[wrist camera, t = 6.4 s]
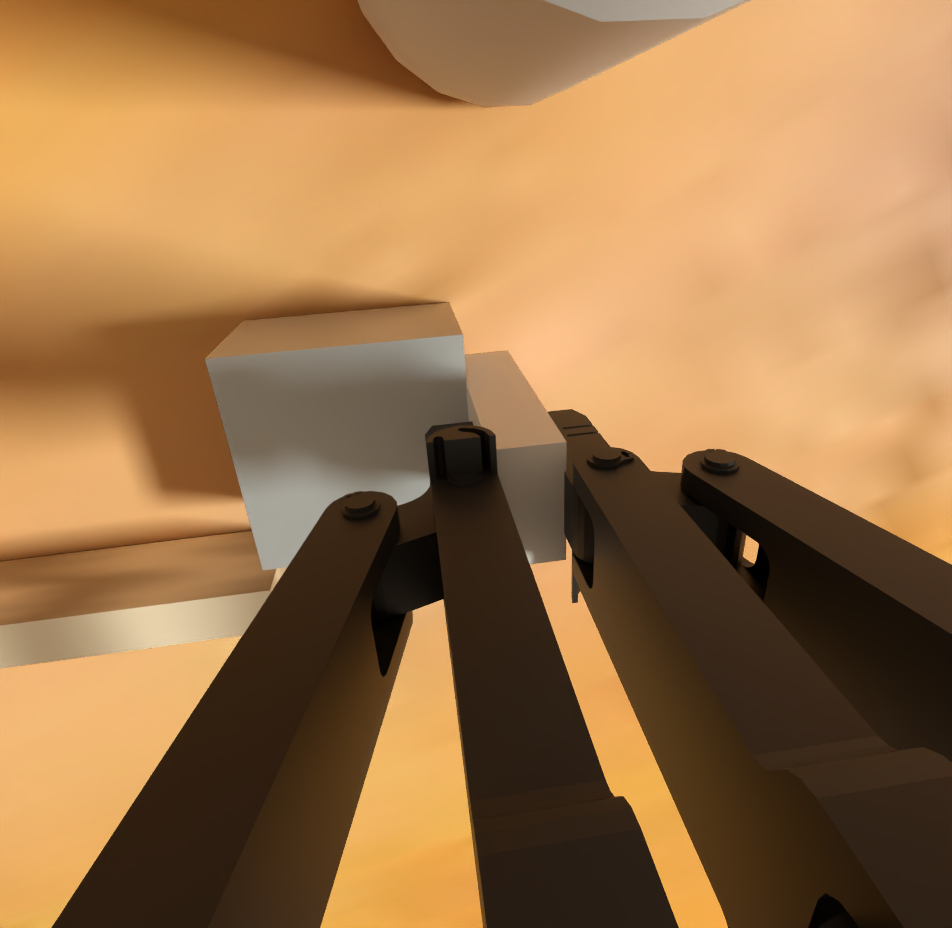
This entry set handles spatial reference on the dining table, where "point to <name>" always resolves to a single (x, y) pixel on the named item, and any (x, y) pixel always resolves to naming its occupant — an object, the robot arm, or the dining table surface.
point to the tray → (130, 598)
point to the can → (526, 41)
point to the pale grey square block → (334, 410)
